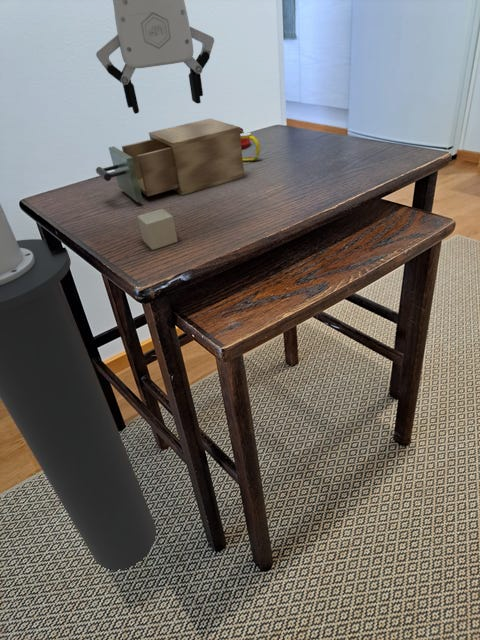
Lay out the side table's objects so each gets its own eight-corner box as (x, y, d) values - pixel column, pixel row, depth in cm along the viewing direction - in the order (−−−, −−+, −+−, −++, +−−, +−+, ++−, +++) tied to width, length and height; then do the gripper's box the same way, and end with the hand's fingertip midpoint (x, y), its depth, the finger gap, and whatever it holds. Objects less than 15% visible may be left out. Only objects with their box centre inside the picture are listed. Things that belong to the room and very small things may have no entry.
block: (152, 250, 71) (146, 224, 68) (143, 241, 74) (136, 215, 72) (177, 241, 72) (172, 216, 70) (167, 233, 76) (162, 208, 73)
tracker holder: (256, 142, 113) (217, 139, 110) (252, 159, 116) (215, 156, 113) (244, 121, 121) (208, 118, 118) (241, 137, 124) (206, 134, 121)
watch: (262, 159, 105) (260, 132, 101) (257, 162, 103) (255, 135, 99) (239, 158, 107) (236, 132, 104) (234, 162, 105) (231, 135, 102)
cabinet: (182, 195, 90) (172, 143, 84) (158, 180, 100) (148, 132, 94) (244, 177, 95) (239, 126, 90) (216, 164, 105) (210, 118, 99)
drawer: (116, 208, 85) (103, 164, 81) (99, 192, 94) (87, 152, 89) (199, 184, 92) (192, 142, 87) (176, 171, 100) (169, 133, 96)
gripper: (76, -27, 56) (112, 120, 65) (210, -41, 59) (226, 101, 69) (76, -23, 61) (109, 112, 71) (198, -35, 65) (214, 95, 75)
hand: (166, 107), depth 70 cm, fingers open, 9 cm apart
